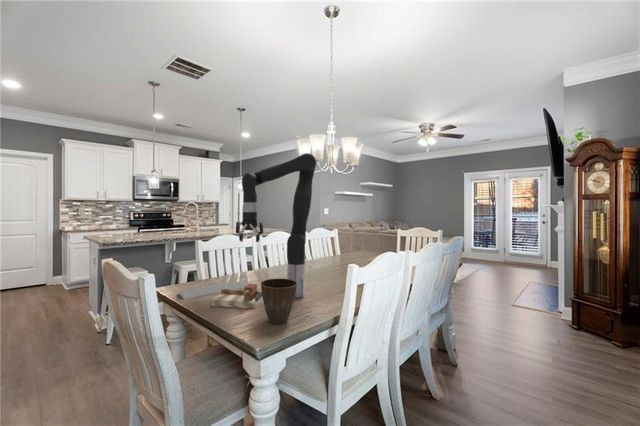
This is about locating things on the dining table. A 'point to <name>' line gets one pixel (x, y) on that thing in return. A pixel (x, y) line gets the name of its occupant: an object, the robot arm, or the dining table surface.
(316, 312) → the dining table surface
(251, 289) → the reddish-brown block with stick
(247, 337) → the dining table surface
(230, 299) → the board
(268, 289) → the plant pot
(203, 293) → the decorative molding
